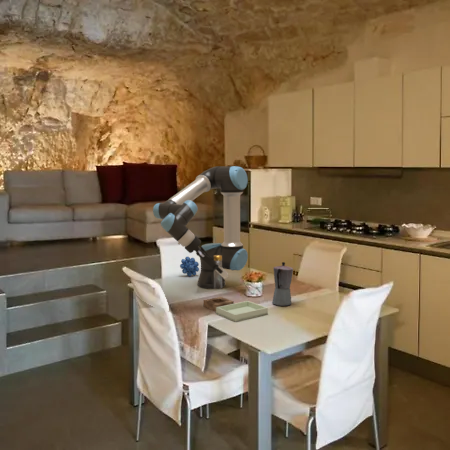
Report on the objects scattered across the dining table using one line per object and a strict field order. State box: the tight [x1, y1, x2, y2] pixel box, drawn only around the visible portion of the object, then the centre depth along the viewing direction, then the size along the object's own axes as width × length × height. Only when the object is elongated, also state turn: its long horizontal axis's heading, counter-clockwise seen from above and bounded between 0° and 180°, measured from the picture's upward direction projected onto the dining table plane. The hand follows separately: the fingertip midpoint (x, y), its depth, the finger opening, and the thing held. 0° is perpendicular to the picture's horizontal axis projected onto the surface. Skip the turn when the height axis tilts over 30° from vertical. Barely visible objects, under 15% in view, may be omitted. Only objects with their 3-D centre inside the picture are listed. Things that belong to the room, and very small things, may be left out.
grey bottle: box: [213, 255, 223, 290], centre depth 228 cm, size 4×4×15 cm
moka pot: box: [271, 261, 294, 307], centre depth 234 cm, size 10×15×20 cm, turn 161°
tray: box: [215, 300, 269, 323], centre depth 219 cm, size 18×14×3 cm
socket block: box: [203, 296, 235, 312], centre depth 230 cm, size 10×10×3 cm
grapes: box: [179, 256, 200, 277], centre depth 292 cm, size 12×7×12 cm, turn 109°
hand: (226, 275), depth 229 cm, fingers closed on grey bottle, 4 cm apart
